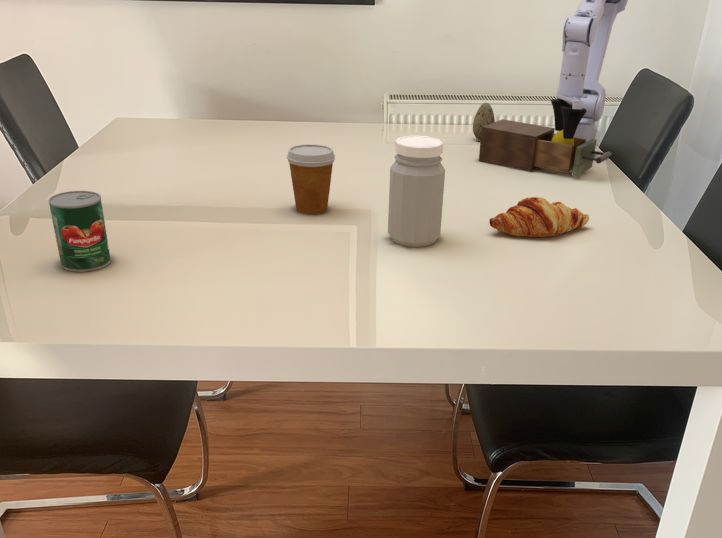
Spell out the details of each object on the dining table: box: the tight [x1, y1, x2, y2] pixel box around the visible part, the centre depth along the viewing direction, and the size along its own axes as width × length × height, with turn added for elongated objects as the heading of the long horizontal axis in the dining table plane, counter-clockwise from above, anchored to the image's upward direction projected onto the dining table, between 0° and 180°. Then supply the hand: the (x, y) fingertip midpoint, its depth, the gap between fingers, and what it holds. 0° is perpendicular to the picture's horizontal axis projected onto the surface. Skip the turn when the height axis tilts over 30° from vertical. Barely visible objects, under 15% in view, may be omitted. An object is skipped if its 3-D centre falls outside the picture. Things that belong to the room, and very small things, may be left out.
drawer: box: [533, 132, 613, 177], centre depth 181 cm, size 18×10×7 cm, turn 56°
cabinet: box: [478, 118, 556, 173], centre depth 187 cm, size 14×11×8 cm
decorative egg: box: [472, 102, 496, 142], centre depth 204 cm, size 6×6×10 cm
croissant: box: [489, 196, 590, 238], centre depth 145 cm, size 21×10×8 cm, turn 108°
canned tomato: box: [48, 190, 112, 273], centre depth 123 cm, size 8×8×11 cm
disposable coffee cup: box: [286, 143, 336, 215], centre depth 150 cm, size 10×10×12 cm
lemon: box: [551, 130, 574, 149], centre depth 181 cm, size 6×6×8 cm
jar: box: [387, 135, 446, 248], centre depth 136 cm, size 10×10×18 cm
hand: (563, 134), depth 180 cm, fingers open, 7 cm apart
